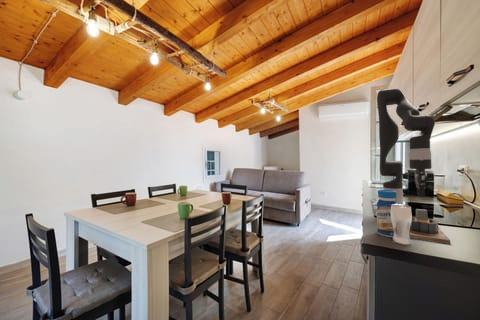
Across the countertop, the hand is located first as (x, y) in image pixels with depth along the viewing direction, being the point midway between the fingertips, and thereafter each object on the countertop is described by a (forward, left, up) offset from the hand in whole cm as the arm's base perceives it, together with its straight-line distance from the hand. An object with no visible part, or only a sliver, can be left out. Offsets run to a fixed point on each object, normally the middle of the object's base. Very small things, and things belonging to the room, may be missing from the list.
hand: (421, 195), depth 92 cm
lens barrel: (0, 0, -16) cm, 16 cm away
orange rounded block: (0, 0, -15) cm, 15 cm away
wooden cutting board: (0, 0, -17) cm, 17 cm away
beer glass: (+18, -9, -17) cm, 26 cm away
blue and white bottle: (+10, -13, -17) cm, 24 cm away
